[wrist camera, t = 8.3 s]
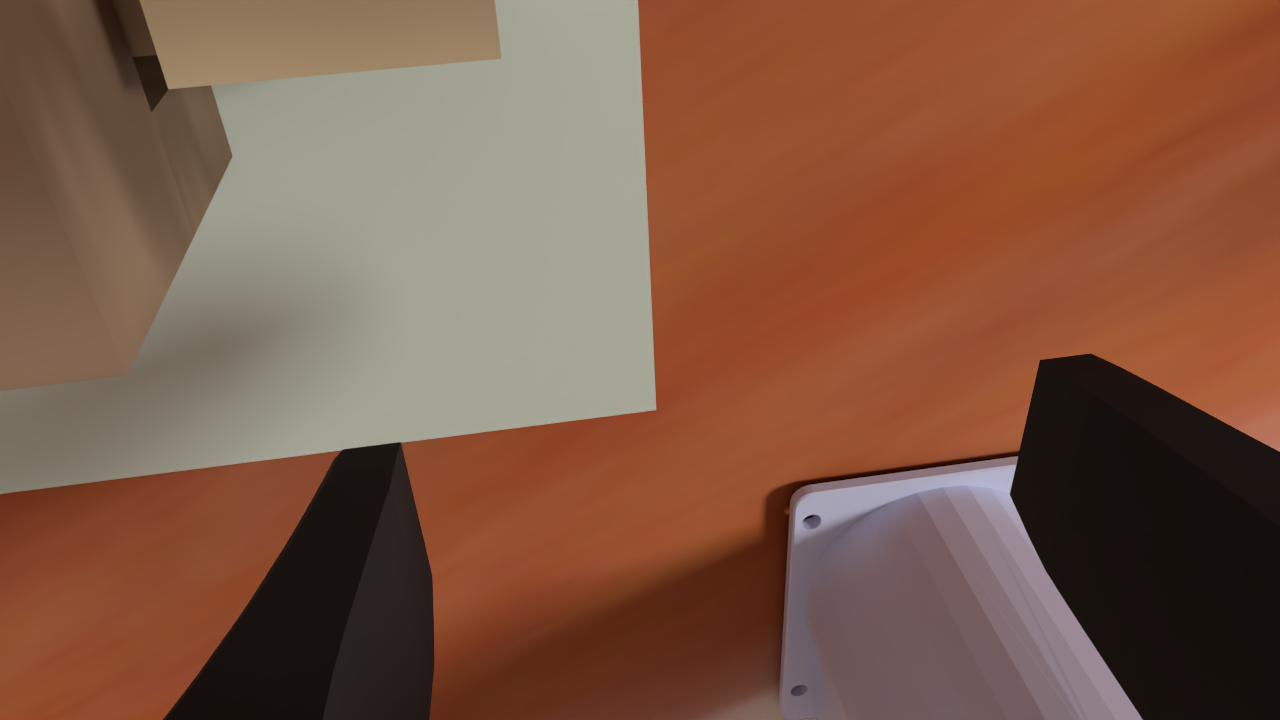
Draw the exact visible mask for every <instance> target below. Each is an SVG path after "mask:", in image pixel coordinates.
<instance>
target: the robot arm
mask: <svg viewBox="0 0 1280 720" xmlns="http://www.w3.org/2000/svg"><path fill="white" fill-rule="evenodd" d="M810 515H814V516H813V517H812V518H809V519H805V518H806V517H807V516H810ZM433 671H434V619H433V585H432V573H431V569H430V565H429V560H428V556H427V552H426V548H425V543H424V539H423V535H422V531H421V526H420V522H419V518H418V514H417V509H416V505H415V501H414V497H413V493H412V488H411V484H410V480H409V476H408V471H407V467H406V463H405V459H404V454H403V450H402V446H401V442H397V443H389V444H381V445H373V446H365V447H358V448H350V449H343V450H342V451H341V452H340V453H339V454H338V456H337V457H336V458H335V459H334V461H333V463H332V464H331V466H330V468H329V470H328V472H327V474H326V476H325V477H324V479H323V481H322V483H321V485H320V486H319V488H318V490H317V492H316V494H315V496H314V497H313V499H312V501H311V503H310V504H309V506H308V508H307V510H306V511H305V513H304V515H303V517H302V518H301V520H300V522H299V523H298V525H297V527H296V528H295V530H294V532H293V533H292V535H291V537H290V538H289V540H288V542H287V544H286V545H285V547H284V548H283V550H282V552H281V553H280V555H279V556H278V558H277V559H276V561H275V563H274V564H273V566H272V567H271V569H270V570H269V572H268V574H267V575H266V577H265V578H264V580H263V581H262V583H261V585H260V586H259V588H258V589H257V591H256V592H255V594H254V596H253V597H252V599H251V600H250V602H249V603H248V605H247V606H246V608H245V609H244V611H243V612H242V614H241V615H240V616H239V618H238V619H237V621H236V622H235V623H234V625H233V626H232V628H231V629H230V630H229V632H228V633H227V635H226V636H225V637H224V639H223V640H222V642H221V643H220V644H219V646H218V647H217V649H216V650H215V651H214V653H213V654H212V656H211V657H210V658H209V660H208V661H207V663H206V664H205V665H204V667H203V668H202V670H201V671H200V672H199V674H198V675H197V677H196V678H195V679H194V680H193V682H192V683H191V684H190V686H189V687H188V688H187V690H186V691H185V692H184V694H183V695H182V696H181V697H180V699H179V700H178V701H177V703H176V704H175V705H174V706H173V708H172V709H171V710H170V711H169V713H168V714H167V715H166V716H165V718H164V719H163V720H429V716H430V705H431V694H432V682H433ZM779 707H780V710H781V713H782V716H783V717H784V718H785V719H789V720H800V719H806V718H813V717H815V719H816V720H1280V452H1279V451H1277V450H1275V449H1273V448H1271V447H1269V446H1267V445H1265V444H1263V443H1262V442H1260V441H1258V440H1256V439H1254V438H1252V437H1250V436H1248V435H1246V434H1245V433H1243V432H1241V431H1239V430H1237V429H1235V428H1233V427H1231V426H1230V425H1228V424H1226V423H1224V422H1222V421H1220V420H1218V419H1217V418H1215V417H1213V416H1211V415H1209V414H1207V413H1205V412H1204V411H1202V410H1200V409H1198V408H1196V407H1194V406H1192V405H1191V404H1189V403H1187V402H1185V401H1183V400H1181V399H1180V398H1178V397H1176V396H1174V395H1172V394H1170V393H1168V392H1167V391H1165V390H1163V389H1161V388H1159V387H1157V386H1155V385H1153V384H1152V383H1150V382H1148V381H1146V380H1144V379H1142V378H1140V377H1138V376H1136V375H1134V374H1132V373H1130V372H1129V371H1127V370H1125V369H1123V368H1121V367H1119V366H1116V365H1114V364H1112V363H1110V362H1108V361H1106V360H1104V359H1102V358H1099V357H1097V356H1095V355H1093V354H1084V355H1076V356H1069V357H1061V358H1053V359H1045V360H1040V363H1039V367H1038V372H1037V376H1036V380H1035V385H1034V389H1033V394H1032V398H1031V402H1030V407H1029V411H1028V416H1027V420H1026V425H1025V429H1024V433H1023V438H1022V442H1021V447H1020V451H1019V455H1018V456H1015V457H1008V458H1000V459H993V460H986V461H979V462H971V463H964V464H957V465H950V466H942V467H935V468H928V469H920V470H913V471H906V472H899V473H891V474H884V475H877V476H870V477H862V478H855V479H848V480H841V481H833V482H826V483H819V484H812V485H807V486H804V487H801V488H800V489H798V490H797V491H796V492H795V493H794V494H793V495H792V497H791V501H790V514H789V532H788V550H787V567H786V585H785V603H784V620H783V638H782V656H781V673H780V691H779Z"/></svg>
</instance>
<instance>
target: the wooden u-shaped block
mask: <svg viewBox="0 0 1280 720" xmlns="http://www.w3.org/2000/svg"><path fill="white" fill-rule="evenodd" d="M113 3H114V6H115V9H116V12H117V15H118V17H119V20H120V23H121V26H122V29H123V32H124V35H125V38H126V41H127V43H128V46H129V49H130V52H131V55H132V57H141V56H152V55H157V56H158V59H159V62H160V65H161V68H162V71H163V74H164V78H165V81H166V84H167V87H168V89H177V88H188V87H199V86H210V85H220V84H231V83H242V82H253V81H264V80H275V79H286V78H297V77H308V76H319V75H330V74H341V73H351V72H362V71H373V70H384V69H395V68H406V67H417V66H428V65H439V64H450V63H461V62H472V61H482V60H493V59H501V50H500V41H499V32H498V23H497V14H496V6H495V0H113Z"/></svg>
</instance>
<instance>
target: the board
mask: <svg viewBox="0 0 1280 720" xmlns="http://www.w3.org/2000/svg"><path fill="white" fill-rule="evenodd" d="M495 6H496V14H497V23H498V32H499V41H500V50H501V59H493V60H482V61H472V62H461V63H450V64H439V65H428V66H417V67H406V68H395V69H384V70H373V71H362V72H351V73H341V74H330V75H319V76H308V77H297V78H286V79H275V80H264V81H253V82H242V83H231V84H220V85H211V87H212V90H213V93H214V97H215V100H216V103H217V107H218V110H219V113H220V116H221V120H222V123H223V126H224V130H225V133H226V136H227V139H228V143H229V146H230V149H231V152H232V156H233V157H232V159H231V161H230V163H229V165H228V167H227V169H226V171H225V173H224V175H223V177H222V180H221V182H220V184H219V186H218V188H217V190H216V192H215V194H214V196H213V198H212V200H211V202H210V204H209V207H208V209H207V211H206V213H205V215H204V217H203V219H202V221H201V223H200V225H199V227H198V229H197V232H196V234H195V236H194V238H193V240H192V242H191V244H190V246H189V248H188V250H187V252H186V254H185V257H184V259H183V261H182V263H181V265H180V267H179V269H178V271H177V273H176V275H175V277H174V279H173V281H172V284H171V286H170V288H169V290H168V292H167V294H166V296H165V298H164V300H163V302H162V304H161V306H160V309H159V311H158V313H157V315H156V317H155V319H154V321H153V323H152V325H151V327H150V329H149V331H148V334H147V336H146V338H145V340H144V342H143V344H142V346H141V348H140V350H139V352H138V354H137V356H136V358H135V361H134V363H133V365H132V367H131V369H130V371H129V373H128V375H127V376H119V377H111V378H103V379H95V380H86V381H78V382H70V383H62V384H54V385H46V386H38V387H30V388H22V389H14V390H6V391H0V494H4V493H12V492H20V491H28V490H35V489H43V488H51V487H59V486H67V485H74V484H82V483H90V482H98V481H106V480H113V479H121V478H129V477H137V476H145V475H152V474H160V473H168V472H176V471H184V470H191V469H199V468H207V467H215V466H223V465H231V464H238V463H246V462H254V461H262V460H270V459H277V458H285V457H293V456H301V455H309V454H316V453H324V452H332V451H340V450H343V449H350V448H358V447H365V446H373V445H381V444H389V443H397V442H401V443H402V442H410V441H418V440H426V439H433V438H441V437H449V436H457V435H465V434H473V433H480V432H488V431H496V430H504V429H512V428H519V427H527V426H535V425H543V424H551V423H558V422H566V421H574V420H582V419H590V418H597V417H605V416H613V415H621V414H629V413H636V412H644V411H652V410H656V395H655V372H654V350H653V328H652V305H651V283H650V260H649V238H648V216H647V193H646V171H645V149H644V126H643V104H642V82H641V59H640V37H639V15H638V0H495Z"/></svg>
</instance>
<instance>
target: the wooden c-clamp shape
mask: <svg viewBox="0 0 1280 720" xmlns="http://www.w3.org/2000/svg"><path fill="white" fill-rule="evenodd" d="M232 157H233V156H232V152H231V149H230V146H229V143H228V139H227V136H226V133H225V130H224V126H223V123H222V120H221V116H220V113H219V110H218V107H217V103H216V100H215V97H214V93H213V90H212V87H211V85H210V86H199V87H188V88H177V89H168V87H167V84H166V81H165V78H164V74H163V71H162V68H161V65H160V62H159V59H158V56H157V55H152V56H141V57H132V55H131V52H130V49H129V46H128V43H127V41H126V38H125V35H124V32H123V29H122V26H121V23H120V20H119V17H118V15H117V12H116V9H115V6H114V3H113V0H0V391H6V390H14V389H22V388H30V387H38V386H46V385H54V384H62V383H70V382H78V381H86V380H95V379H103V378H111V377H119V376H127V375H128V373H129V371H130V369H131V367H132V365H133V363H134V361H135V358H136V356H137V354H138V352H139V350H140V348H141V346H142V344H143V342H144V340H145V338H146V336H147V334H148V331H149V329H150V327H151V325H152V323H153V321H154V319H155V317H156V315H157V313H158V311H159V309H160V306H161V304H162V302H163V300H164V298H165V296H166V294H167V292H168V290H169V288H170V286H171V284H172V281H173V279H174V277H175V275H176V273H177V271H178V269H179V267H180V265H181V263H182V261H183V259H184V257H185V254H186V252H187V250H188V248H189V246H190V244H191V242H192V240H193V238H194V236H195V234H196V232H197V229H198V227H199V225H200V223H201V221H202V219H203V217H204V215H205V213H206V211H207V209H208V207H209V204H210V202H211V200H212V198H213V196H214V194H215V192H216V190H217V188H218V186H219V184H220V182H221V180H222V177H223V175H224V173H225V171H226V169H227V167H228V165H229V163H230V161H231V159H232Z"/></svg>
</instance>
